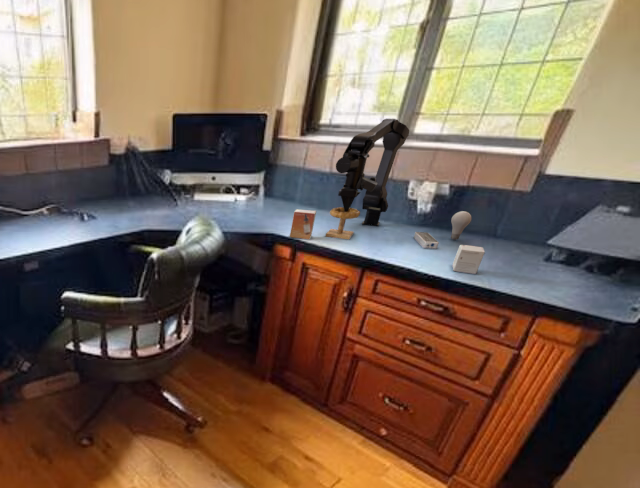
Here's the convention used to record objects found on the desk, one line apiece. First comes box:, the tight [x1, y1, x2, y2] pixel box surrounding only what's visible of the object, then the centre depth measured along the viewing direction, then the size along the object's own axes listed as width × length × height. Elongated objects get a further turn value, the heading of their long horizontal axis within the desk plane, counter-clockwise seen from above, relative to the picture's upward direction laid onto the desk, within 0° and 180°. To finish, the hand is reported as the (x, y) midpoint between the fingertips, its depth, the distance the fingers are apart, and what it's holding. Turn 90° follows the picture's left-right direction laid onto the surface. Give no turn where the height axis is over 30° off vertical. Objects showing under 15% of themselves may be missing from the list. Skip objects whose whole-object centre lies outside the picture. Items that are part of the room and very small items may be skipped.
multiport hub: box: [413, 231, 440, 250], centre depth 162 cm, size 4×14×2 cm, turn 162°
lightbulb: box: [450, 210, 472, 241], centre depth 162 cm, size 6×6×11 cm
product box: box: [452, 244, 486, 275], centre depth 134 cm, size 6×6×7 cm
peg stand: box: [325, 218, 355, 240], centre depth 172 cm, size 9×9×7 cm
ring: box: [329, 206, 361, 220], centre depth 169 cm, size 11×11×2 cm
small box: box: [289, 208, 317, 240], centre depth 171 cm, size 8×6×10 cm
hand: (346, 210), depth 172 cm, fingers closed on ring, 2 cm apart
